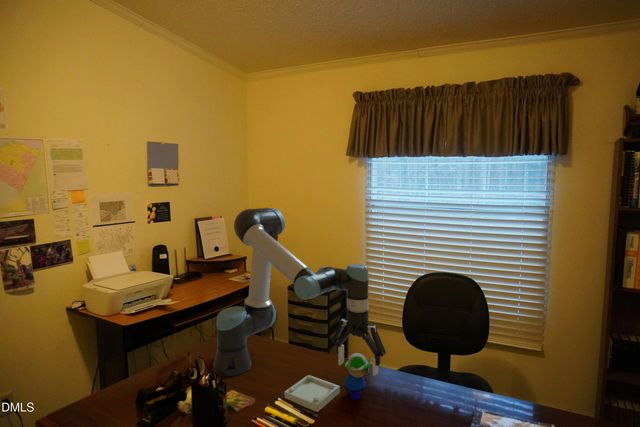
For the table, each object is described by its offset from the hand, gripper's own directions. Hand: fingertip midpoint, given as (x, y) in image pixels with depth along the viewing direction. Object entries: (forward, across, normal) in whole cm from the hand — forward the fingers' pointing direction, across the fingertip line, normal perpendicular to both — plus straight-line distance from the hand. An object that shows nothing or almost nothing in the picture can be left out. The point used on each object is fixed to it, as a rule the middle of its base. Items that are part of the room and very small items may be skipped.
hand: (357, 368), depth 128 cm
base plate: (+10, -13, -9) cm, 19 cm away
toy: (+10, 0, 0) cm, 10 cm away
